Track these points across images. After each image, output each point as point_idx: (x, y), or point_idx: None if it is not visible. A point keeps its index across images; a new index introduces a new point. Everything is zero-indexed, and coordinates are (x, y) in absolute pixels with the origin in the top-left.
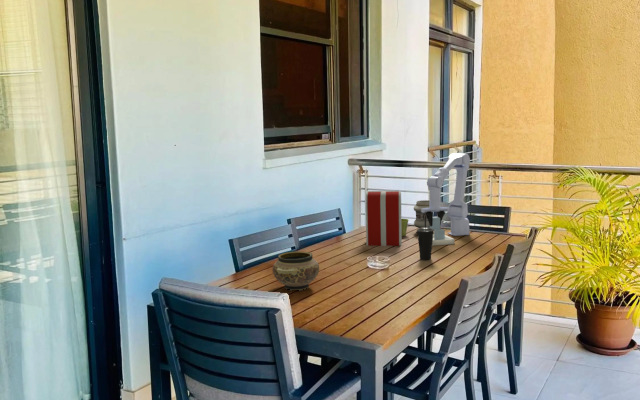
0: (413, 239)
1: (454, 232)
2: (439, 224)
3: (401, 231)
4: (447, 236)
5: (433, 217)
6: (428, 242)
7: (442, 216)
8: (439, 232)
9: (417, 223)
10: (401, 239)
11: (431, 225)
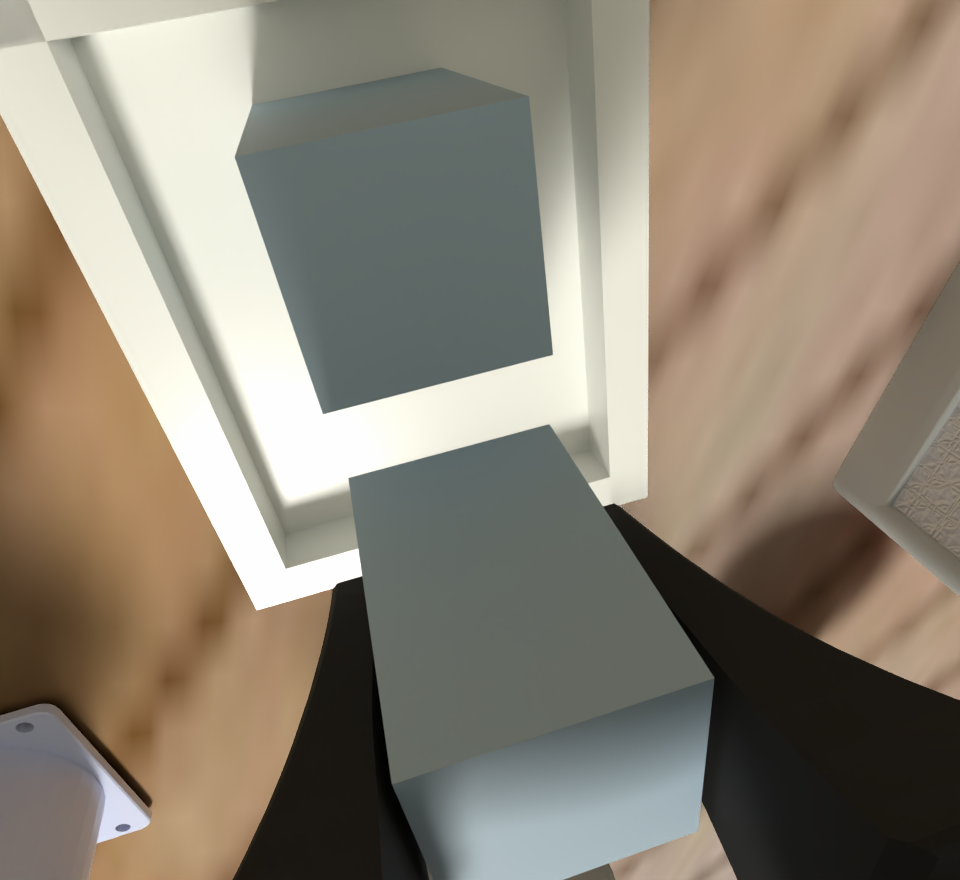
0: (695, 489)
1: (28, 780)
2: (382, 562)
3: (933, 545)
4: (160, 375)
5: (627, 787)
6: None
7: (276, 872)
8: (431, 100)
9: (599, 871)
10: (892, 416)
11: (614, 513)
